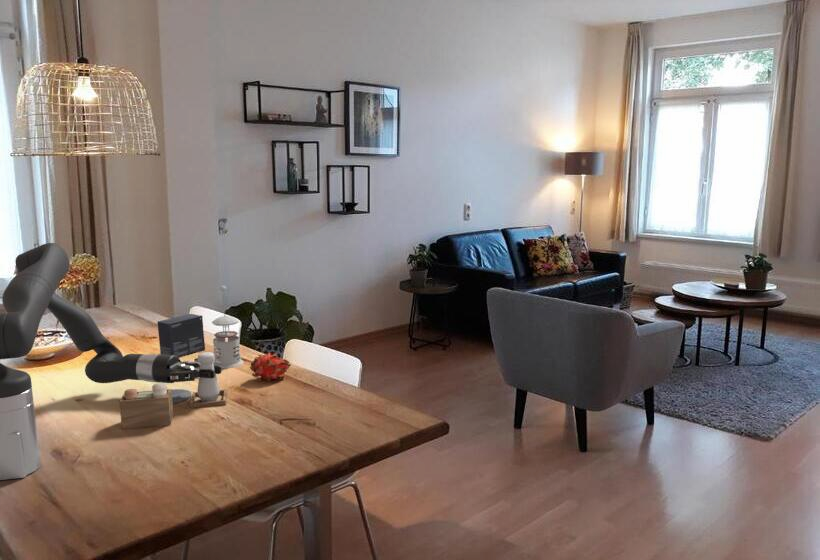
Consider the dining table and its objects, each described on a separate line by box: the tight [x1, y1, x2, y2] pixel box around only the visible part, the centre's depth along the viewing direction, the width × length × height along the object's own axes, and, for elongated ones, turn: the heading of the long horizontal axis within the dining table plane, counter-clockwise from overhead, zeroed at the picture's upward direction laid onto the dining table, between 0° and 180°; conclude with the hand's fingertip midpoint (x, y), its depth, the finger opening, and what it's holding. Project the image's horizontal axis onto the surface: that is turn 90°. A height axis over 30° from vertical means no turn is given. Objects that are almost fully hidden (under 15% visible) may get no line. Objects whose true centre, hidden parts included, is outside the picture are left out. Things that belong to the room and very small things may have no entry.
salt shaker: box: [196, 351, 221, 402], centre depth 174 cm, size 6×6×13 cm
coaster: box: [172, 388, 192, 405], centre depth 177 cm, size 10×10×1 cm
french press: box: [211, 285, 244, 369], centre depth 205 cm, size 10×12×25 cm
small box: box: [156, 313, 206, 359], centre depth 217 cm, size 13×7×12 cm, turn 146°
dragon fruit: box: [249, 352, 292, 382], centre depth 191 cm, size 8×8×12 cm
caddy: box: [119, 382, 174, 430], centre depth 160 cm, size 6×11×9 cm, turn 103°
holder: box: [189, 389, 228, 409], centre depth 175 cm, size 9×9×1 cm
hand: (217, 371), depth 173 cm, fingers closed on salt shaker, 3 cm apart
